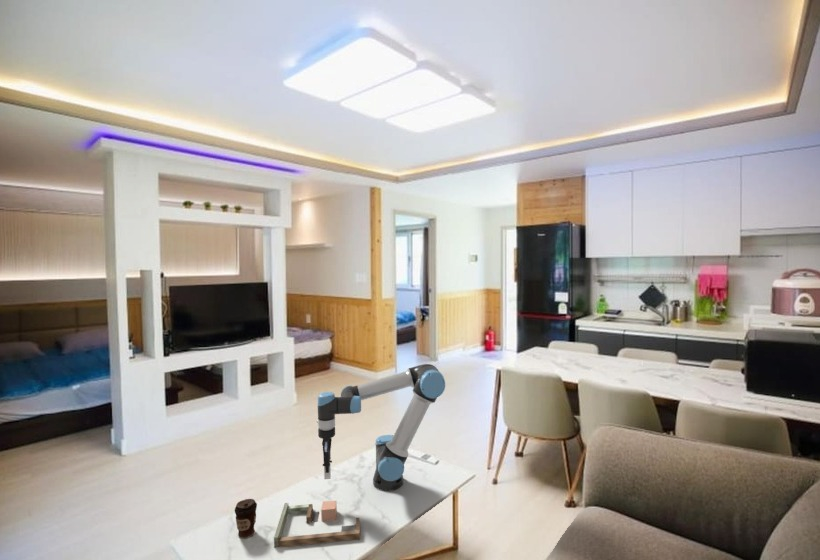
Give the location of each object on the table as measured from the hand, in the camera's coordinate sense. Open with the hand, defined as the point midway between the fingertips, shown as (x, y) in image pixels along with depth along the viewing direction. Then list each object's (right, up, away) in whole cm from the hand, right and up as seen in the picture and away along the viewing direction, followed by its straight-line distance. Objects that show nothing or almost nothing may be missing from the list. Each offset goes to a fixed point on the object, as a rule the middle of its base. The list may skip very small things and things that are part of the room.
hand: (327, 478), depth 187 cm
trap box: (-1, -13, -14) cm, 19 cm away
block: (+2, -13, -8) cm, 15 cm away
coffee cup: (-29, -14, -19) cm, 38 cm away
